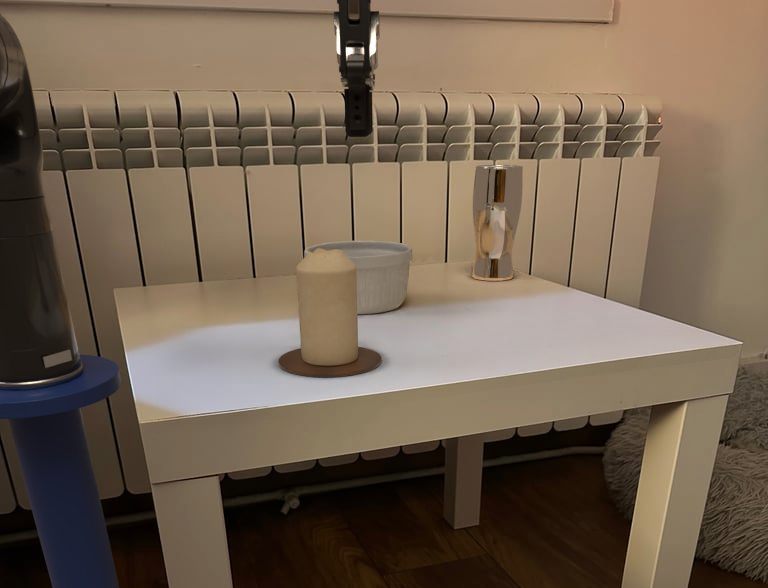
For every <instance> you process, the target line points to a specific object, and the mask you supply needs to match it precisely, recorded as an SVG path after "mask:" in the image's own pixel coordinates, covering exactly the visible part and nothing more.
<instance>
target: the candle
mask: <svg viewBox="0 0 768 588" xmlns="http://www.w3.org/2000/svg"><path fill="white" fill-rule="evenodd" d="M295 273H296V274H295V275H296V290H297V305H298V307H297V308H298V321H299V322H298V323H299V324H298V325H299V339H300V348H301V354H302V359H303V361H305V362H307V363H309V364H314V365H323V366H332V365H342V364H347V363H350V362H353V361H355V360H356V359H357V358H358V347H359V325H358V324H359V323H358V322H359V321H358V320H359V319H358V314H357V278H356V266H355V264H354V263H353V262H352V261H351V260H350V259H349V258H348V256H347V255H346V254H345V253H344V252H343V250H338V249H333V250H330V251H326V250H324V249H321V248H318V249H316V250H315V251H314V252H313V253H312V252H310V251H309V252H308V254H307V255H306V256H305V257H303V259H302V260H300V262H299V263H298V264H297V265H296V267H295Z"/></svg>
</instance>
